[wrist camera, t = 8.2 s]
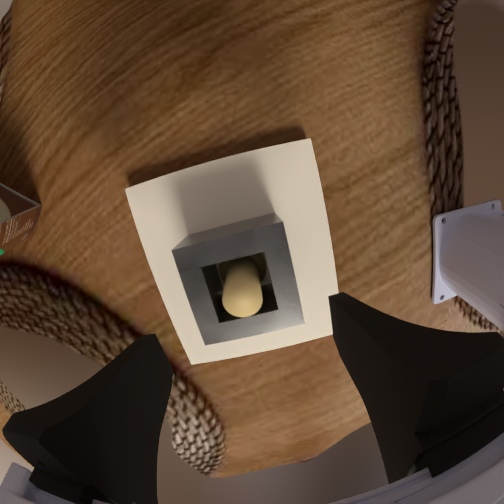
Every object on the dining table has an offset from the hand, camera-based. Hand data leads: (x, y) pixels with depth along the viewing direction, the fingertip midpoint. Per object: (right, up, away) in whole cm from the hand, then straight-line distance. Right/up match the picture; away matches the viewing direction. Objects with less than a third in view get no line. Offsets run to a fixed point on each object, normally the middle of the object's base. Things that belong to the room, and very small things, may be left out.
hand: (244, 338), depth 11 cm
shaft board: (0, +3, +8) cm, 9 cm away
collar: (0, +3, +7) cm, 8 cm away
